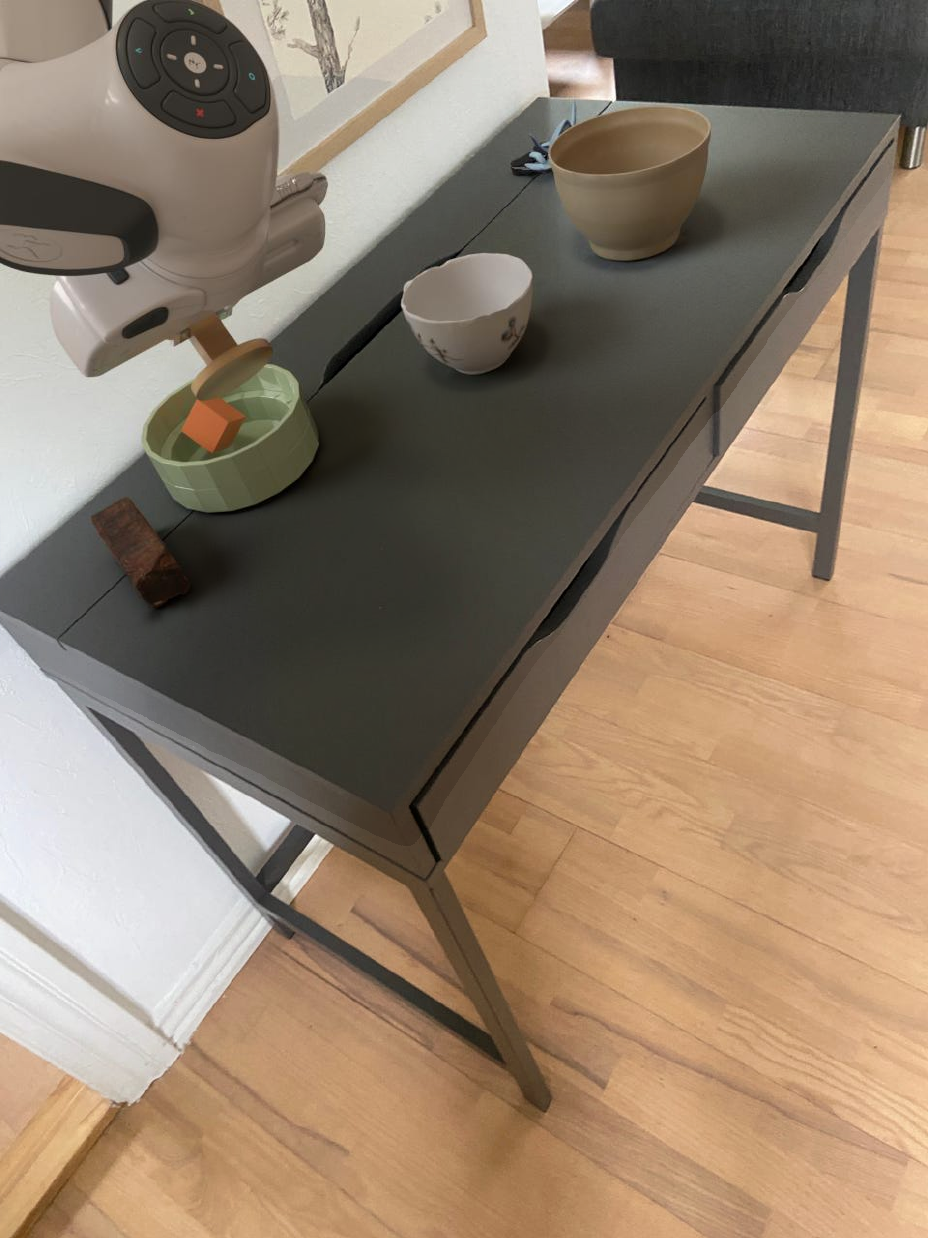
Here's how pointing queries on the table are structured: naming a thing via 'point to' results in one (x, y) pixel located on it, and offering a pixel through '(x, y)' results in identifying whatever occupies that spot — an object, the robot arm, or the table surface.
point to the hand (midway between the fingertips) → (196, 323)
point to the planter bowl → (632, 177)
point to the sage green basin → (235, 444)
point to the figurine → (542, 150)
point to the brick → (140, 552)
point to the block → (213, 424)
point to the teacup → (470, 310)
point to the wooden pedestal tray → (224, 358)
